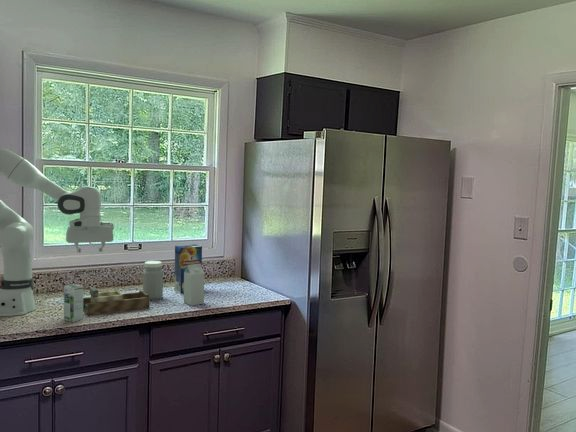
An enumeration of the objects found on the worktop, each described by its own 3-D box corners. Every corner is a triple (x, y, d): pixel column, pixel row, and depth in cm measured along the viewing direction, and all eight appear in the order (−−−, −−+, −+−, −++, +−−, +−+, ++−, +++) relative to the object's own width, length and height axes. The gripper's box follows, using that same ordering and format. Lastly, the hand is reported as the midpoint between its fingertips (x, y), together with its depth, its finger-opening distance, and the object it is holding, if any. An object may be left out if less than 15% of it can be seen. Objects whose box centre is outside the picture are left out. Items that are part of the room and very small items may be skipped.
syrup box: (63, 319, 219) (63, 285, 217) (75, 316, 224) (75, 283, 222) (71, 322, 216) (71, 287, 214) (84, 319, 221) (83, 285, 219)
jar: (160, 300, 254) (160, 264, 252) (140, 300, 254) (140, 263, 252) (164, 295, 264) (165, 260, 262) (145, 295, 264) (145, 260, 262)
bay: (88, 315, 226) (88, 301, 225) (81, 308, 236) (81, 295, 235) (149, 308, 241) (149, 295, 240) (141, 302, 251) (141, 289, 250)
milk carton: (183, 302, 252) (184, 263, 250) (196, 300, 257) (197, 262, 255) (190, 306, 247) (191, 266, 245) (203, 303, 251) (204, 264, 250)
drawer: (94, 311, 229) (94, 291, 228) (89, 306, 236) (89, 286, 235) (123, 307, 236) (123, 288, 235) (117, 303, 243) (117, 284, 242)
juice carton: (180, 294, 269) (181, 247, 267) (174, 291, 275) (174, 245, 272) (201, 291, 276) (202, 246, 274) (194, 288, 282) (195, 244, 280)
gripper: (112, 221, 246) (111, 250, 247) (65, 221, 235) (65, 251, 236) (115, 222, 241) (114, 252, 242) (67, 223, 230) (67, 254, 231)
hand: (89, 252), depth 239 cm, fingers open, 8 cm apart
